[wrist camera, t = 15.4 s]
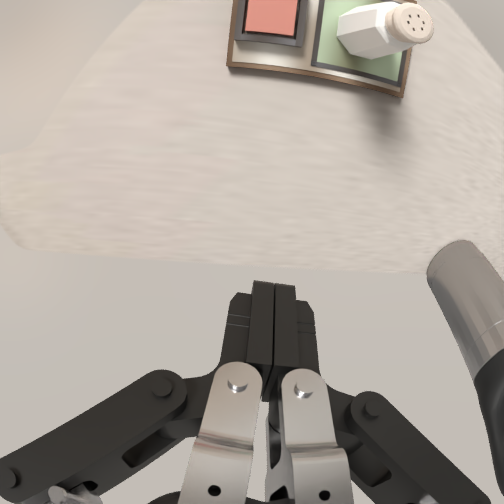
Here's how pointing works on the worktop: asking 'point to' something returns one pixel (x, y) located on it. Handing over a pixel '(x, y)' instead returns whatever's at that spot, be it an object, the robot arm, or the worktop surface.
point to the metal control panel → (316, 48)
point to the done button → (271, 17)
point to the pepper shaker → (384, 28)
